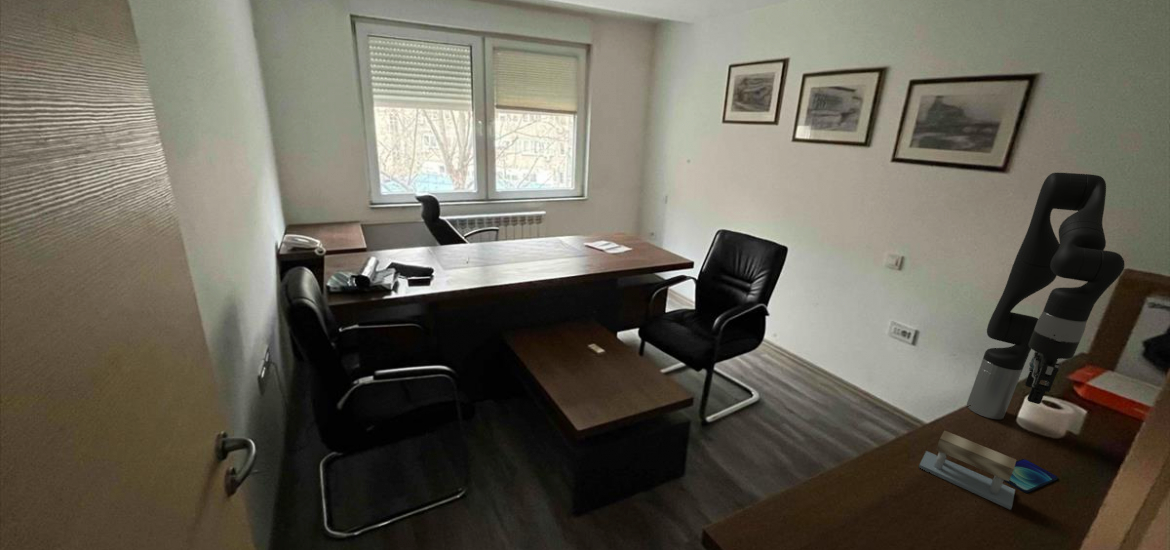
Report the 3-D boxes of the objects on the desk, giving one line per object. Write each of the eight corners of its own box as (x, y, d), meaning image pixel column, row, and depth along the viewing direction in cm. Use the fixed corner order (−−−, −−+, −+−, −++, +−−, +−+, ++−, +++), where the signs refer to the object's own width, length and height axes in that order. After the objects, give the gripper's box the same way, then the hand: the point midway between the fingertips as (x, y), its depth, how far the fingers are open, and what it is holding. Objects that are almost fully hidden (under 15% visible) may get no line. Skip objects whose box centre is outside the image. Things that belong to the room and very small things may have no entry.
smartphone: (1060, 477, 115) (1026, 491, 110) (1058, 480, 116) (1025, 494, 110) (1023, 458, 122) (990, 470, 116) (1022, 460, 122) (989, 473, 117)
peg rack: (918, 467, 117) (924, 448, 115) (925, 454, 122) (931, 435, 120) (1010, 510, 105) (1019, 489, 103) (1013, 492, 110) (1022, 472, 108)
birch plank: (1011, 471, 108) (1016, 459, 107) (1008, 481, 105) (1013, 469, 104) (940, 441, 118) (944, 430, 117) (936, 449, 115) (940, 438, 114)
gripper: (1032, 319, 110) (1009, 376, 116) (1037, 338, 100) (1012, 401, 105) (1075, 328, 106) (1050, 387, 111) (1085, 350, 95) (1057, 414, 101)
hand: (1031, 394), depth 108 cm, fingers open, 8 cm apart
